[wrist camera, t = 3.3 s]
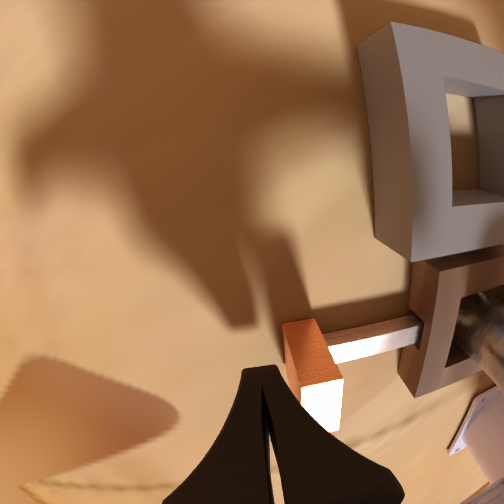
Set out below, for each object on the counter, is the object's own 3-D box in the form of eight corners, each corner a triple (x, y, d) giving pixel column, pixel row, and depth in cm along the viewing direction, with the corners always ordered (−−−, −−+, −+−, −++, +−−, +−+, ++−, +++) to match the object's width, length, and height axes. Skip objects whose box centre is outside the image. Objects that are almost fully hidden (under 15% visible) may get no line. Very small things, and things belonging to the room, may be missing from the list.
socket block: (506, 236, 13) (532, 248, 11) (485, 340, 15) (504, 358, 13) (412, 253, 13) (439, 271, 10) (397, 373, 15) (414, 398, 13)
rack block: (489, 70, 10) (529, 64, 7) (497, 220, 12) (536, 236, 10) (356, 46, 10) (390, 21, 7) (374, 237, 12) (411, 262, 9)
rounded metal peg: (480, 275, 13) (582, 349, 6) (470, 322, 14) (555, 403, 7) (441, 285, 13) (549, 377, 6) (432, 335, 14) (518, 433, 7)
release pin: (414, 297, 13) (463, 342, 9) (408, 345, 14) (446, 394, 10) (282, 323, 13) (300, 387, 9) (286, 372, 14) (302, 437, 10)
